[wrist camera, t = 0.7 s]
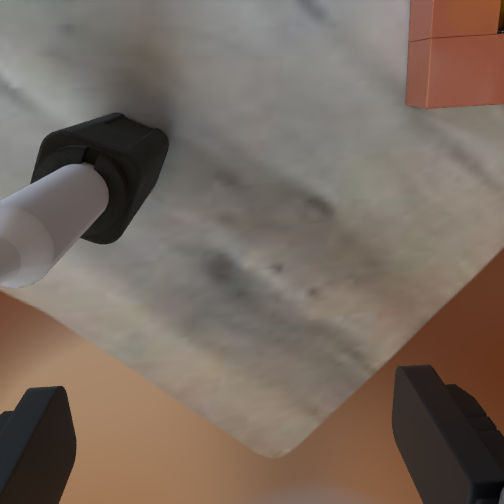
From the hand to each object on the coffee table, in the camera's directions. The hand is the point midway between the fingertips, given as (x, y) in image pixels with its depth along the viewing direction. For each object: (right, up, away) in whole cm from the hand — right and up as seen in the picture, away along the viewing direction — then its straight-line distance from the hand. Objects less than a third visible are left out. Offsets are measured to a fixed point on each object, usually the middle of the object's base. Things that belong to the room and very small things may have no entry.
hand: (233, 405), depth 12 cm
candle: (-9, +11, +25) cm, 29 cm away
